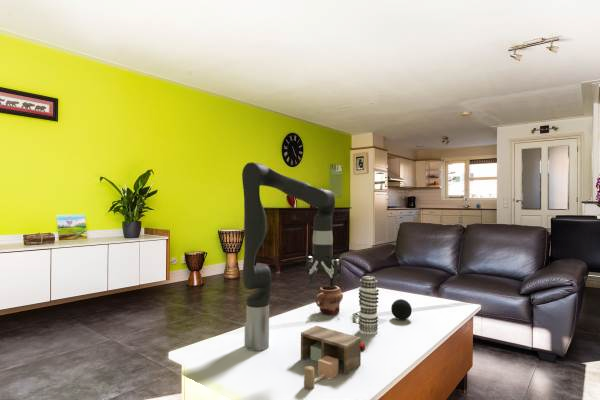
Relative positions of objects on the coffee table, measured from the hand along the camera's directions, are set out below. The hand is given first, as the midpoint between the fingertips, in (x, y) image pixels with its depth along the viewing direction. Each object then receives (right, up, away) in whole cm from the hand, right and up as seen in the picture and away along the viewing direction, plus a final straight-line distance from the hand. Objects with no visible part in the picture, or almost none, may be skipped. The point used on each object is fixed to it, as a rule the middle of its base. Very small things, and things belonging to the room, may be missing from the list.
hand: (322, 285), depth 135 cm
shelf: (+3, -28, -1) cm, 28 cm away
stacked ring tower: (+23, -29, +31) cm, 48 cm away
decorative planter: (+7, -29, +57) cm, 64 cm away
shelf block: (-1, -28, +2) cm, 28 cm away
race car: (+11, -29, +11) cm, 33 cm away
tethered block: (-2, -28, -15) cm, 32 cm away
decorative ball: (+43, -29, +48) cm, 71 cm away
